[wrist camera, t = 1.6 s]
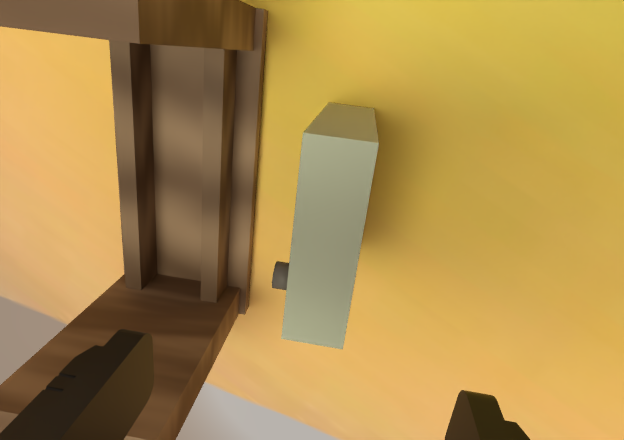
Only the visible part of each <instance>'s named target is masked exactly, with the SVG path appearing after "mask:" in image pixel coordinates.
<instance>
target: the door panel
mask: <svg viewBox="0 0 624 440" xmlns="http://www.w3.org/2000/svg"><path fill="white" fill-rule="evenodd" d="M378 145H379V140H378V133H377V126H376V119H375V112H374V108H367V107H359V106H352V105H344V104H336V103H328V104H327V105H326V106H325V108H324V109H323V110H322V111H321V112H320V113H319V115H318V116H317V117H316V118H315V119H314V120H313V122H312V123H311V124H310V125H309V126H308V127H307V129H306V130H305V131H304V132H303V138H302V147H301V157H300V166H299V176H298V185H297V195H296V204H295V214H294V223H293V233H292V242H291V252H290V262H289V263H285V262H278V261H277V262H276V264H275V268H274V272H273V279H272V288H276V289H282V290H286V300H285V309H284V319H283V328H282V338H281V339H286V340H292V341H297V342H303V343H309V344H315V345H320V346H326V347H332V348H338V349H343V345H344V339H345V334H346V328H347V322H348V316H349V311H350V305H351V299H352V294H353V288H354V282H355V277H356V271H357V265H358V259H359V254H360V248H361V242H362V237H363V231H364V225H365V220H366V214H367V208H368V202H369V197H370V191H371V185H372V180H373V174H374V168H375V163H376V157H377V151H378Z"/></svg>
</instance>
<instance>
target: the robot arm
mask: <svg viewBox="0 0 624 440" xmlns="http://www.w3.org/2000/svg"><path fill="white" fill-rule="evenodd" d="M153 384H154V362H153V340H152V336H151V334H149V333H144V332H138V331H133V330H127V329H120V330H118V331H117V332H116V333H115V334H114V335H113V336H112V337H111V339H110V340H109V341H108V342H107V343H106V344H105V345H104V346H98V345H95V346H93V347H91V348H89V349H88V350H86V351H84V352H83V353H81V354H79V355H77V356H76V357H74V358H73V359H72V360H71V361H70V362H69V363H68V364H67V365H66V366H65V367H64V368H63V370H62V371H61V372H60V373H59V375H58V376H56V377H55V378H54V379H53V380H52V381H51V382H50V383H49V384H48V385H47V386H46V389H45V390H42V391H41V392H40V393H39V394H38V395H37V396H36V397H35V398H34V399H33V400H32V401H31V402H30V403H29V404H28V405H27V406H26V407H25V408H24V409H23V410H22V411H21V412H20V413H19V414H18V416H17V417H16V418H15V419H14V420H13V421H12V422H11V423H10V424H9V425H8V426H7V427H6V428H5V429H4V430H3V431H2V432H1V433H0V440H124V438H125V437H126V435H127V434H128V432H129V430H130V429H131V427H132V426H133V424H134V423H135V421H136V420H137V418H138V416H139V415H140V413H141V412H142V410H143V409H144V407H145V405H146V404H147V402H148V400H149V398H150V395H151V392H152V389H153ZM445 440H530V439H529V437H528V436H527V435H526V434H525V433H524V431H523V430H522V429H521V428H520V427H519V425H518V424H517V423H515V422H510V421H504V418H503V415H502V413H501V410H500V407H499V405H498V402H497V400H496V398H495V397H494V396H492V395H487V394H481V393H476V392H470V391H464V390H462V391H460V393H459V395H458V398H457V401H456V404H455V407H454V410H453V413H452V416H451V419H450V423H449V426H448V429H447V432H446V436H445Z"/></svg>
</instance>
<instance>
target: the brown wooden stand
mask: <svg viewBox="0 0 624 440" xmlns="http://www.w3.org/2000/svg"><path fill="white" fill-rule="evenodd" d="M267 14H268V11H267V10H265V9H258V8H254V7H252V6H250V5H248V4H245V3H243V2H241V1H239V0H0V26H2V27H10V28H18V29H26V30H34V31H42V32H50V33H58V34H66V35H74V36H82V37H90V38H98V39H106V40H109V44H110V59H111V74H112V90H113V105H114V120H115V136H116V151H117V166H118V182H119V197H120V212H121V228H122V243H123V258H124V275H123V276H122V277H121V278H120V279H119V280H118V281H117V282H115V283H114V284H113V285H112V286H111V287H110V288H109V289H108V290H106V291H105V292H104V293H103V294H102V295H101V296H100V297H99V298H97V299H96V300H95V301H94V302H93V303H92V304H91V305H90V306H88V307H87V308H86V309H85V310H84V311H83V312H82V313H81V314H80V315H78V316H77V317H76V318H75V319H74V320H73V321H72V322H71V323H69V324H68V325H67V326H66V327H65V328H64V329H63V330H62V331H60V333H58V334H57V335H56V336H55V337H54V338H53V339H51V340H50V341H49V342H48V343H47V344H46V345H45V346H44V347H43V348H41V349H40V350H39V351H38V352H37V353H36V354H35V355H34V356H32V357H31V358H30V359H29V360H28V361H27V362H26V363H25V364H24V365H22V366H21V367H20V368H19V369H18V370H17V371H16V372H14V373H13V374H12V375H11V376H10V377H9V378H8V379H7V380H6V381H4V382H3V383H2V384H1V385H0V433H1V432H2V431H3V430H4V429H5V428H6V427H7V426H8V425H9V424H10V423H11V422H12V421H13V420H14V419H15V418H16V417H17V416H18V414H19V413H20V412H21V411H22V410H23V409H24V408H25V407H26V406H27V405H28V404H29V403H30V402H31V401H32V400H33V399H34V398H35V397H36V396H37V395H38V394H39V393H40V392H41V391H42V390H45V389H46V386H47V385H48V384H49V383H50V382H51V381H52V380H53V379H54V378H55V377H56V376H58V375H59V373H60V372H61V371H62V370H63V368H64V367H65V366H66V365H67V364H68V363H69V362H70V361H71V360H72V359H73V358H74V357H76V356H77V355H79V354H81V353H83V352H84V351H86V350H88V349H89V348H91V347H93V346H95V345H98V346H104V345H105V344H106V343H107V342H108V341H109V340H110V339H111V337H112V336H113V335H114V334H115V333H116V332H117V331H118V330H120V329H127V330H133V331H138V332H144V333H149V334H151V336H152V340H153V362H154V384H153V389H152V392H151V395H150V398H149V400H148V402H147V404H146V405H145V407H144V409H143V410H142V412H141V413H140V415H139V416H138V418H137V420H136V421H135V423H134V424H133V426H132V427H131V429H130V430H129V432H128V434H127V435H126V437H125V438H124V440H176V437H177V436H178V434H179V432H180V430H181V428H182V426H183V423H184V422H185V420H186V418H187V416H188V414H189V412H190V410H191V408H192V406H193V404H194V402H195V400H196V398H197V396H198V394H199V392H200V390H201V388H202V385H203V384H204V382H205V380H206V378H207V376H208V374H209V372H210V370H211V368H212V366H213V364H214V362H215V360H216V358H217V356H218V354H219V352H220V350H221V348H222V346H223V344H224V342H225V340H226V338H227V336H228V334H229V332H230V330H231V328H232V326H233V324H234V322H235V320H236V318H237V316H238V314H245V313H246V311H247V309H248V304H249V288H250V273H251V258H252V243H253V227H254V212H255V197H256V182H257V167H258V151H259V136H260V121H261V106H262V91H263V75H264V60H265V45H266V30H267Z"/></svg>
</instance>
